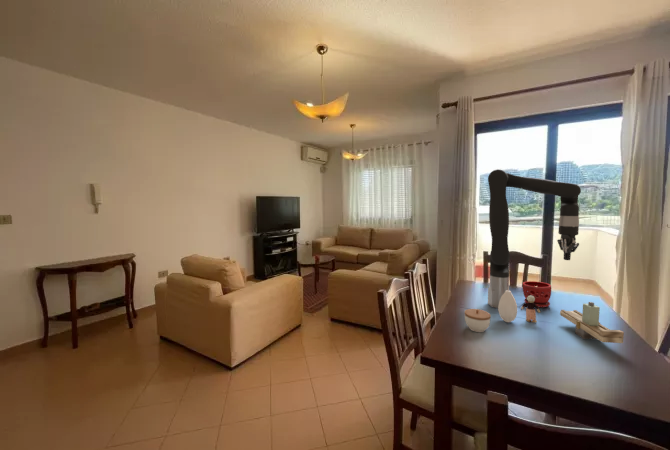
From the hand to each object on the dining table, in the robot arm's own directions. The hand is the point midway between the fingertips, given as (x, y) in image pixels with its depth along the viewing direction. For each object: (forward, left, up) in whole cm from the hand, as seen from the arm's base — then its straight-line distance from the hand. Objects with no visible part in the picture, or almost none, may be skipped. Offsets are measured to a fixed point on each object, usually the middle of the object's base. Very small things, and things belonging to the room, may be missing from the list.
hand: (566, 259), depth 139 cm
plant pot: (-5, +16, -29) cm, 34 cm away
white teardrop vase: (-30, -9, -29) cm, 43 cm away
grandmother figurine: (-19, -7, -29) cm, 36 cm away
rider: (-3, -22, -23) cm, 32 cm away
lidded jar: (-47, -19, -29) cm, 59 cm away
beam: (-3, -21, -29) cm, 36 cm away
